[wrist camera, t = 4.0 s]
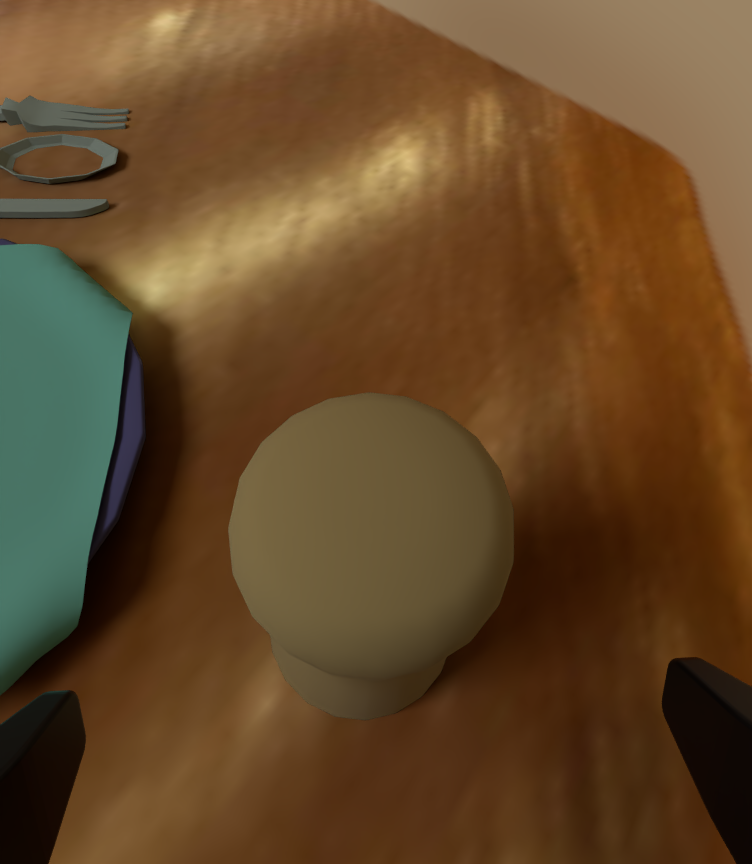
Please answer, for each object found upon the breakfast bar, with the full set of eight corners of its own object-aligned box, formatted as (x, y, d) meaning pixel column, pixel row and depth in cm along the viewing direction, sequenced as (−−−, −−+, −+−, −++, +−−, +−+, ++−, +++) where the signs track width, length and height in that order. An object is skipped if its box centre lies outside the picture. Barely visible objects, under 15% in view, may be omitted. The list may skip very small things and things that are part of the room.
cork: (375, 496, 21) (399, 289, 11) (491, 632, 19) (643, 525, 9) (232, 602, 19) (111, 463, 9) (344, 766, 17) (340, 811, 7)
